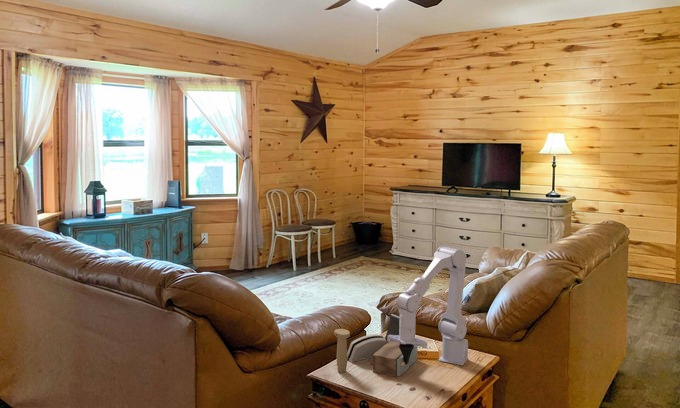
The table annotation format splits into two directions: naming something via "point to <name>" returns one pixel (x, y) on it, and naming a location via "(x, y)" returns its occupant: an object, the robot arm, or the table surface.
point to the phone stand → (393, 326)
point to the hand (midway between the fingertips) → (406, 363)
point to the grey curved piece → (365, 347)
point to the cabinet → (387, 359)
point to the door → (401, 363)
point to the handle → (342, 349)
